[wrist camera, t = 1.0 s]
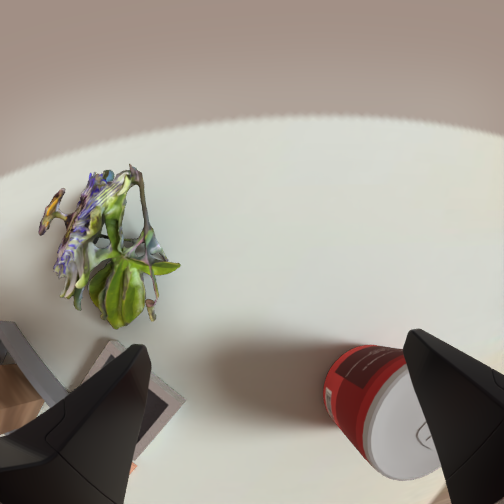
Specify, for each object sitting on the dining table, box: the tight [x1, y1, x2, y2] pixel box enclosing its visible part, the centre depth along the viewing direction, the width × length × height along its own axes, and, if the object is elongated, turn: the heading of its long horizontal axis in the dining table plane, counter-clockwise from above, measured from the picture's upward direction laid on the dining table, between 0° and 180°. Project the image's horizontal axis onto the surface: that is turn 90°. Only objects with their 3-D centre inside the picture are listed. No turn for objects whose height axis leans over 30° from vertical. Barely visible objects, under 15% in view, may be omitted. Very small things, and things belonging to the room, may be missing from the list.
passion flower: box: [39, 164, 181, 329], centre depth 21 cm, size 11×11×12 cm
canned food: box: [323, 345, 441, 481], centre depth 17 cm, size 8×8×11 cm
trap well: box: [80, 340, 186, 461], centre depth 21 cm, size 8×8×2 cm
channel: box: [0, 321, 69, 435], centre depth 20 cm, size 11×11×3 cm
